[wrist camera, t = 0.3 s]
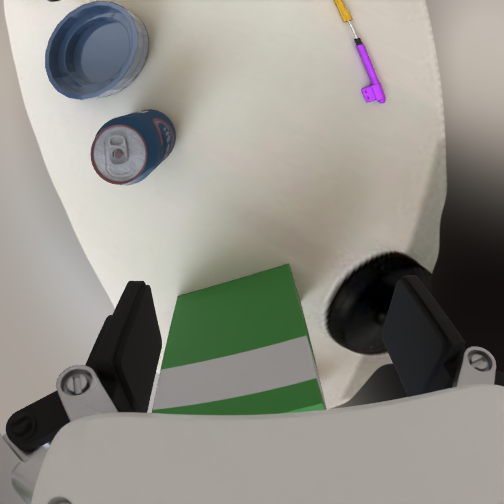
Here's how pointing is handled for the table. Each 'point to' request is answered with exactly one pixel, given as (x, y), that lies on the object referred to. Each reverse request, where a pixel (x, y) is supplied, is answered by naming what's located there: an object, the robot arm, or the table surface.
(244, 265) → the table surface
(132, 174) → the soda can
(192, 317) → the hardback book
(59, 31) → the bowl
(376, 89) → the purple yellow rod
